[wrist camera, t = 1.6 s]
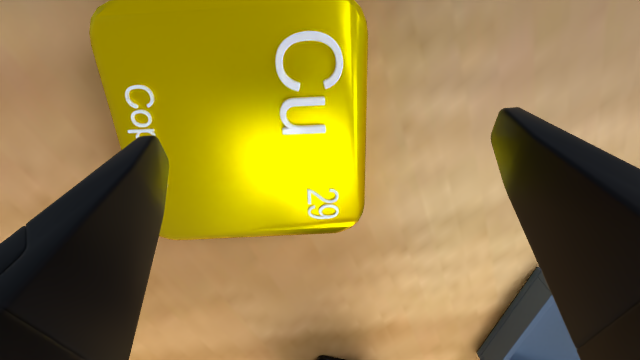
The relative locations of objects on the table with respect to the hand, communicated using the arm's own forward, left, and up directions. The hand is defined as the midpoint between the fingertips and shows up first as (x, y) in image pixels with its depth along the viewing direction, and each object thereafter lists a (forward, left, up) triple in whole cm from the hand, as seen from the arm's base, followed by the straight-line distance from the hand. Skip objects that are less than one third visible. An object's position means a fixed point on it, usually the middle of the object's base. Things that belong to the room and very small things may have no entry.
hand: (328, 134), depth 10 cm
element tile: (-5, +3, -16) cm, 17 cm away
